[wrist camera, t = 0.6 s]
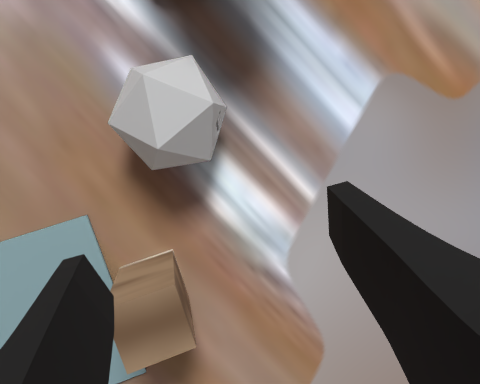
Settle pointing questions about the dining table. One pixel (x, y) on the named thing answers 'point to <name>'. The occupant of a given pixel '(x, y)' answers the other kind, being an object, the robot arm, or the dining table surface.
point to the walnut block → (151, 312)
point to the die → (169, 113)
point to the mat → (48, 274)
